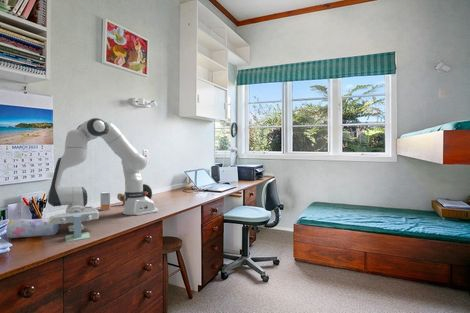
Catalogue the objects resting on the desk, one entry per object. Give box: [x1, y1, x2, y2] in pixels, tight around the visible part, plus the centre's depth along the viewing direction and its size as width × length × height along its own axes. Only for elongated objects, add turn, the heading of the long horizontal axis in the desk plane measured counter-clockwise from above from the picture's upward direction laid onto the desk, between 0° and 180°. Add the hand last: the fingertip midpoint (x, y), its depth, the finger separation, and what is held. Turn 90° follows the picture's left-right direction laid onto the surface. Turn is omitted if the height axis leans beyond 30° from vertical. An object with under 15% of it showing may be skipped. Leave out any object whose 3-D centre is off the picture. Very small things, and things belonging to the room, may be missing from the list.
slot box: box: [67, 223, 85, 233], centre depth 149 cm, size 7×8×2 cm
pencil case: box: [6, 215, 61, 239], centre depth 138 cm, size 21×9×10 cm, turn 107°
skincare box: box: [100, 191, 111, 211], centre depth 196 cm, size 6×4×12 cm
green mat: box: [65, 231, 91, 243], centre depth 137 cm, size 10×10×1 cm
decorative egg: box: [143, 183, 153, 200], centre depth 215 cm, size 12×12×15 cm
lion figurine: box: [116, 193, 125, 206], centre depth 212 cm, size 15×5×9 cm, turn 114°
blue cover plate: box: [73, 215, 82, 238], centre depth 137 cm, size 3×4×10 cm, turn 32°
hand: (77, 220), depth 137 cm, fingers open, 8 cm apart
